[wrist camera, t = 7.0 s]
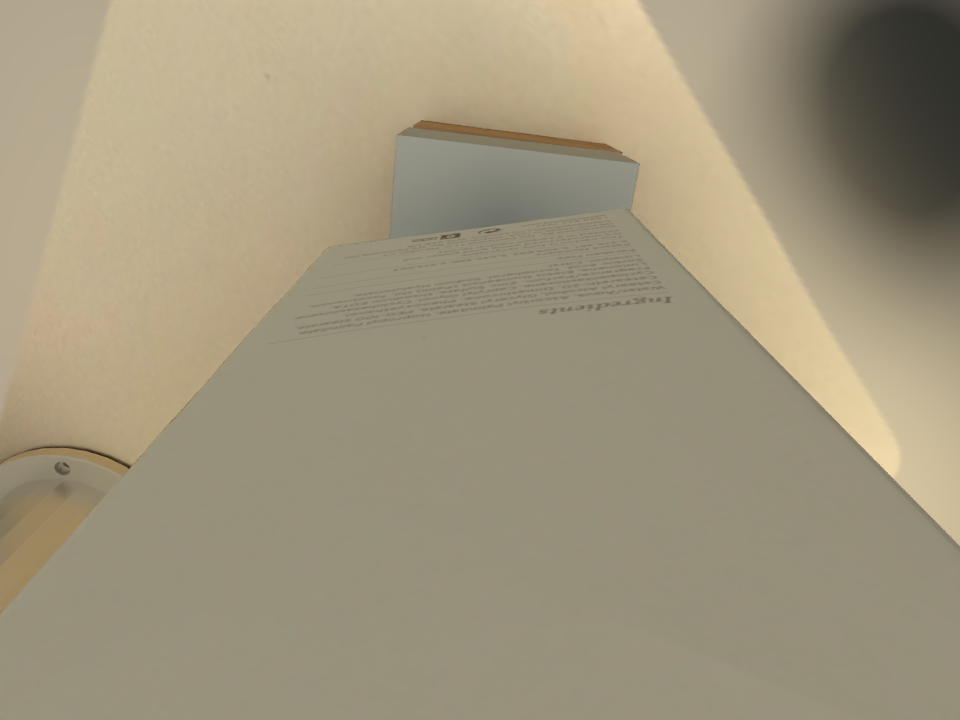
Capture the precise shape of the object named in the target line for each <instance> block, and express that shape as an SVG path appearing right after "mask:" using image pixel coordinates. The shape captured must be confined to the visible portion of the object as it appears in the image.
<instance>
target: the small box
mask: <svg viewBox="0 0 960 720" xmlns="http://www.w3.org/2000/svg"><path fill="white" fill-rule="evenodd" d="M0 720H960V546H959V545H958V544H957V543H956V542H955V541H954V540H953V539H952V538H951V537H950V536H949V535H948V534H947V533H946V532H945V531H944V530H943V529H942V528H941V527H940V525H938V523H937V522H935V520H934V519H933V518H931V516H930V515H928V513H927V512H926V511H925V510H924V509H923V508H922V507H921V506H920V505H919V504H918V503H917V502H916V501H915V500H914V499H913V498H912V497H911V496H910V495H909V494H908V493H907V492H906V491H905V490H904V489H903V488H902V487H901V486H900V485H899V484H898V483H897V482H896V481H895V480H894V479H893V478H892V477H891V476H890V475H889V474H888V473H887V472H886V471H885V470H884V469H883V468H882V467H881V466H880V465H879V464H878V463H877V462H876V461H875V460H874V459H873V458H872V457H871V456H870V455H869V454H868V453H867V452H866V451H865V450H864V449H863V448H862V447H861V446H860V445H859V444H858V443H857V442H856V441H855V440H854V439H853V438H852V437H851V436H850V435H849V434H848V433H847V431H846V430H845V429H844V428H843V427H842V426H841V425H840V424H839V423H838V422H837V421H836V420H835V419H834V418H833V417H832V416H831V415H830V414H829V413H828V412H827V411H826V410H825V409H824V408H823V407H822V406H821V405H820V404H819V403H818V402H817V401H816V400H815V399H814V398H813V397H812V396H811V395H810V394H809V393H808V392H807V391H806V390H805V389H804V388H803V387H802V386H801V385H800V384H799V383H798V382H797V381H796V380H795V379H794V378H793V377H792V376H791V375H790V374H789V373H788V372H787V371H786V370H785V369H784V368H783V367H782V366H781V365H780V364H779V363H778V362H777V360H776V359H775V358H774V357H773V356H772V355H771V354H770V353H769V352H768V351H767V350H766V349H765V348H764V347H763V346H762V345H761V344H760V343H759V342H758V341H757V340H756V339H755V338H754V337H753V336H752V335H751V334H750V333H749V332H748V331H747V330H746V329H745V328H744V327H743V326H742V325H741V324H740V323H739V322H738V321H737V320H736V319H735V318H734V317H733V316H732V315H731V314H730V313H729V312H728V311H727V310H726V309H725V308H724V307H723V306H722V305H721V304H720V303H719V302H718V301H717V300H716V299H715V298H714V297H713V296H712V295H711V294H710V293H709V292H708V291H707V290H706V289H705V288H704V287H703V286H702V285H701V284H700V283H699V282H698V281H697V280H696V279H695V278H694V277H693V276H692V274H691V273H690V272H689V271H688V270H687V269H686V268H685V267H684V266H683V265H682V264H681V263H680V262H679V261H678V260H677V259H676V258H675V257H674V256H673V255H672V254H671V253H670V252H669V251H668V250H667V249H666V248H665V247H664V246H663V245H662V244H661V243H660V242H659V241H658V239H657V238H656V237H655V236H654V235H653V234H652V233H651V232H650V231H649V230H648V229H647V228H646V227H645V226H644V225H643V224H642V223H641V222H640V221H639V220H638V219H637V218H636V217H635V216H634V215H633V213H631V211H630V210H629V209H625V208H622V209H615V210H607V211H601V212H594V213H585V214H578V215H572V216H564V217H557V218H548V219H539V220H533V221H526V222H519V223H511V224H504V225H497V226H490V227H483V228H475V229H467V230H459V231H451V232H443V233H435V234H427V235H419V236H411V237H402V238H393V239H386V240H378V241H371V242H363V243H355V244H347V245H339V246H332V247H329V248H327V249H326V250H325V251H324V252H323V253H322V254H321V255H320V256H319V257H318V259H317V260H316V261H315V262H314V263H313V265H312V266H310V267H309V268H308V270H307V271H306V272H305V273H304V274H303V275H302V277H301V278H300V279H299V280H298V281H297V282H296V283H295V285H294V286H293V287H292V288H291V289H290V290H289V292H288V293H287V294H286V295H285V296H284V297H283V298H282V299H281V300H280V301H279V302H278V303H277V304H276V305H275V306H274V307H273V308H272V309H271V310H270V311H269V312H268V313H267V314H266V316H265V317H264V318H263V319H262V320H261V321H260V322H259V323H258V324H257V325H256V327H255V328H254V329H253V330H252V331H251V332H250V333H249V334H248V335H247V337H246V338H245V339H244V340H243V341H242V342H241V343H240V344H239V346H238V347H237V348H236V349H235V350H234V351H233V352H232V354H231V355H230V356H229V357H228V358H227V359H226V361H225V362H224V363H223V364H222V365H221V366H220V368H219V369H218V370H217V371H216V372H215V373H214V375H213V376H212V377H211V378H210V379H209V380H208V382H207V383H206V384H205V385H204V386H203V387H202V388H201V389H200V390H199V391H198V392H197V393H196V394H195V395H194V396H193V398H192V399H191V400H190V401H189V402H188V403H187V405H186V406H185V407H184V408H183V409H182V410H181V412H180V413H179V414H178V415H177V416H176V417H175V418H174V419H173V420H172V421H171V422H170V423H169V424H168V426H167V427H166V428H165V429H164V430H163V431H162V432H161V433H160V435H159V436H158V437H157V438H156V439H155V440H154V441H153V443H152V444H151V445H150V446H149V447H148V448H147V449H146V450H145V452H144V453H143V454H142V455H141V456H140V457H139V458H138V460H137V461H136V462H135V463H134V464H133V465H132V466H131V468H130V469H129V470H128V471H127V472H126V473H125V474H124V476H123V477H122V478H121V479H120V480H119V481H118V482H117V483H116V485H115V486H114V487H113V488H112V489H111V490H110V491H109V492H108V494H107V495H106V496H105V497H104V498H103V499H102V500H101V501H100V502H99V504H98V505H97V506H96V507H95V508H94V509H93V510H92V511H91V512H90V514H89V515H88V516H87V517H86V518H85V519H84V520H83V521H82V522H81V524H80V525H79V526H78V527H77V528H76V529H75V530H74V531H73V532H72V534H71V535H70V536H69V537H68V538H67V539H66V540H65V541H64V542H63V544H62V545H61V546H60V547H59V548H58V549H57V550H56V551H55V552H54V553H53V555H52V556H51V557H50V558H49V559H48V560H47V561H46V562H45V563H44V565H43V566H42V567H41V568H40V569H39V570H38V571H37V572H36V573H35V575H34V576H33V577H32V578H31V579H30V580H29V581H28V582H27V583H26V585H25V586H24V587H23V588H22V589H21V590H20V591H19V592H18V593H17V595H16V596H15V597H14V598H13V599H12V600H11V601H10V602H9V604H8V605H7V606H6V607H5V608H4V609H3V610H2V611H1V612H0Z"/></svg>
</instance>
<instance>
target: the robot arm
mask: <svg viewBox="0 0 960 720" xmlns="http://www.w3.org/2000/svg"><path fill="white" fill-rule="evenodd" d="M128 470H129V468H127V467H125V466H123V465H121V464H119V463H117V462H115V461H113V460H111V459H109V458H107V457H103V456H100V455H97V454H94V453H90V452H87V451H82V450H75V449H69V448H42V449H37V450H32V451H27V452H23V453H21V454H18V455H16V456H13V457H11V458H9V459H7V460H5V461H4V462H2V463H1V464H0V612H1V611H2V610H3V609H4V608H5V607H6V606H7V605H8V604H9V602H10V601H11V600H12V599H13V598H14V597H15V596H16V595H17V593H18V592H19V591H20V590H21V589H22V588H23V587H24V586H25V585H26V583H27V582H28V581H29V580H30V579H31V578H32V577H33V576H34V575H35V573H36V572H37V571H38V570H39V569H40V568H41V567H42V566H43V565H44V563H45V562H46V561H47V560H48V559H49V558H50V557H51V556H52V555H53V553H54V552H55V551H56V550H57V549H58V548H59V547H60V546H61V545H62V544H63V542H64V541H65V540H66V539H67V538H68V537H69V536H70V535H71V534H72V532H73V531H74V530H75V529H76V528H77V527H78V526H79V525H80V524H81V522H82V521H83V520H84V519H85V518H86V517H87V516H88V515H89V514H90V512H91V511H92V510H93V509H94V508H95V507H96V506H97V505H98V504H99V502H100V501H101V500H102V499H103V498H104V497H105V496H106V495H107V494H108V492H109V491H110V490H111V489H112V488H113V487H114V486H115V485H116V483H117V482H118V481H119V480H120V479H121V478H122V477H123V476H124V474H125V473H126V472H127V471H128Z"/></svg>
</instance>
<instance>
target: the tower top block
mask: <svg viewBox="0 0 960 720" xmlns="http://www.w3.org/2000/svg"><path fill="white" fill-rule="evenodd" d="M639 165H640V164H639V163H637V162H635V161H633V160H631V159H630V158H628V157H626V156H624V155H622V154H620V153H618V152H610V151H602V150H594V149H585V148H577V147H569V146H560V145H552V144H544V143H535V142H527V141H519V140H510V139H502V138H494V137H485V136H477V135H469V134H460V133H452V132H444V131H435V130H427V129H419V128H410V127H409V128H407V129H406V130H404V131H402V132H401V133H399V134H397V137H396V152H395V167H394V182H393V197H392V212H391V228H390V239H393V238H402V237H411V236H419V235H427V234H435V233H443V232H451V231H459V230H467V229H475V228H483V227H490V226H497V225H504V224H511V223H519V222H526V221H533V220H539V219H548V218H557V217H564V216H572V215H578V214H585V213H594V212H601V211H607V210H615V209H622V208H625V209H629V210H630V211H631V206H632V201H633V196H634V191H635V186H636V181H637V175H638V170H639Z"/></svg>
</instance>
